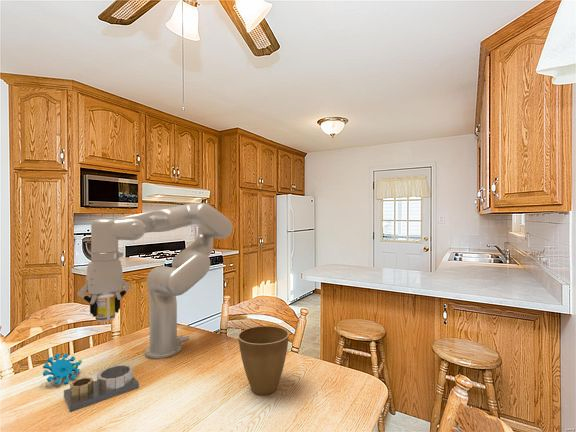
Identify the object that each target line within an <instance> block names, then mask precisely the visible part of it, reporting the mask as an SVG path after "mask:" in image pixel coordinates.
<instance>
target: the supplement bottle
mask: <svg viewBox="0 0 576 432" xmlns="http://www.w3.org/2000/svg"><path fill="white" fill-rule="evenodd" d="M95 303H96V312H97V316H96V317H95V321H96V322H99V323H100V322H110V321H112V320H115V318H116V312H115V293H114V292H111V293H110V292H108V293H103V294H98V295H97V297H96V300H95Z"/></svg>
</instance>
